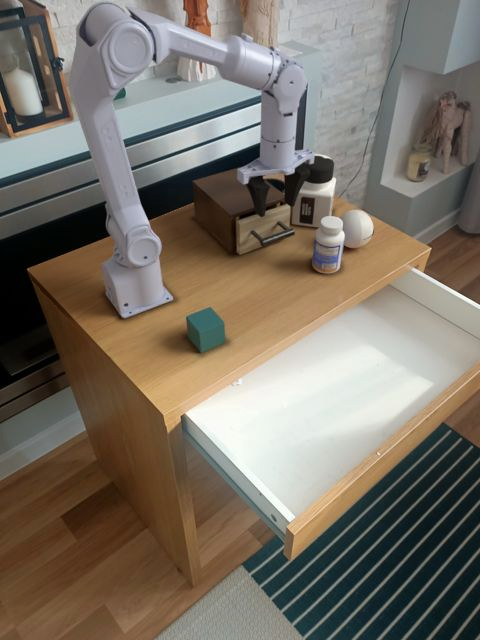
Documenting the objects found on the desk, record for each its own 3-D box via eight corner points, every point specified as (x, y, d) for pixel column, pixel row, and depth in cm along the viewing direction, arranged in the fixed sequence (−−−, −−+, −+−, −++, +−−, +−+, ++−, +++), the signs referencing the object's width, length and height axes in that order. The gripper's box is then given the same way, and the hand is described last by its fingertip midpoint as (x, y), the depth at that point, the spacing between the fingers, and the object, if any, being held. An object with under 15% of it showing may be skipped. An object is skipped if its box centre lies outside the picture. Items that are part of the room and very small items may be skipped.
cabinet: (284, 234, 112) (286, 196, 106) (231, 253, 107) (230, 214, 101) (246, 202, 120) (246, 165, 114) (195, 218, 115) (192, 180, 109)
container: (328, 229, 114) (335, 170, 104) (291, 224, 115) (295, 165, 105) (332, 210, 119) (339, 152, 110) (296, 205, 120) (301, 147, 111)
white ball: (355, 260, 106) (361, 227, 101) (325, 244, 110) (329, 211, 105) (386, 240, 111) (393, 208, 106) (356, 225, 115) (362, 193, 110)
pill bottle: (321, 254, 108) (326, 209, 101) (345, 264, 105) (352, 219, 99) (306, 267, 104) (310, 223, 98) (330, 278, 102) (337, 233, 95)
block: (201, 353, 88) (199, 332, 85) (187, 336, 91) (185, 316, 87) (225, 342, 90) (224, 322, 87) (211, 326, 92) (210, 306, 89)
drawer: (302, 248, 107) (305, 218, 102) (253, 267, 103) (253, 236, 98) (252, 206, 118) (252, 176, 113) (205, 221, 113) (203, 191, 108)
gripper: (253, 155, 84) (252, 231, 94) (328, 134, 90) (320, 208, 100) (229, 137, 88) (231, 212, 98) (302, 118, 94) (297, 191, 104)
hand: (274, 209), depth 99 cm, fingers open, 6 cm apart
